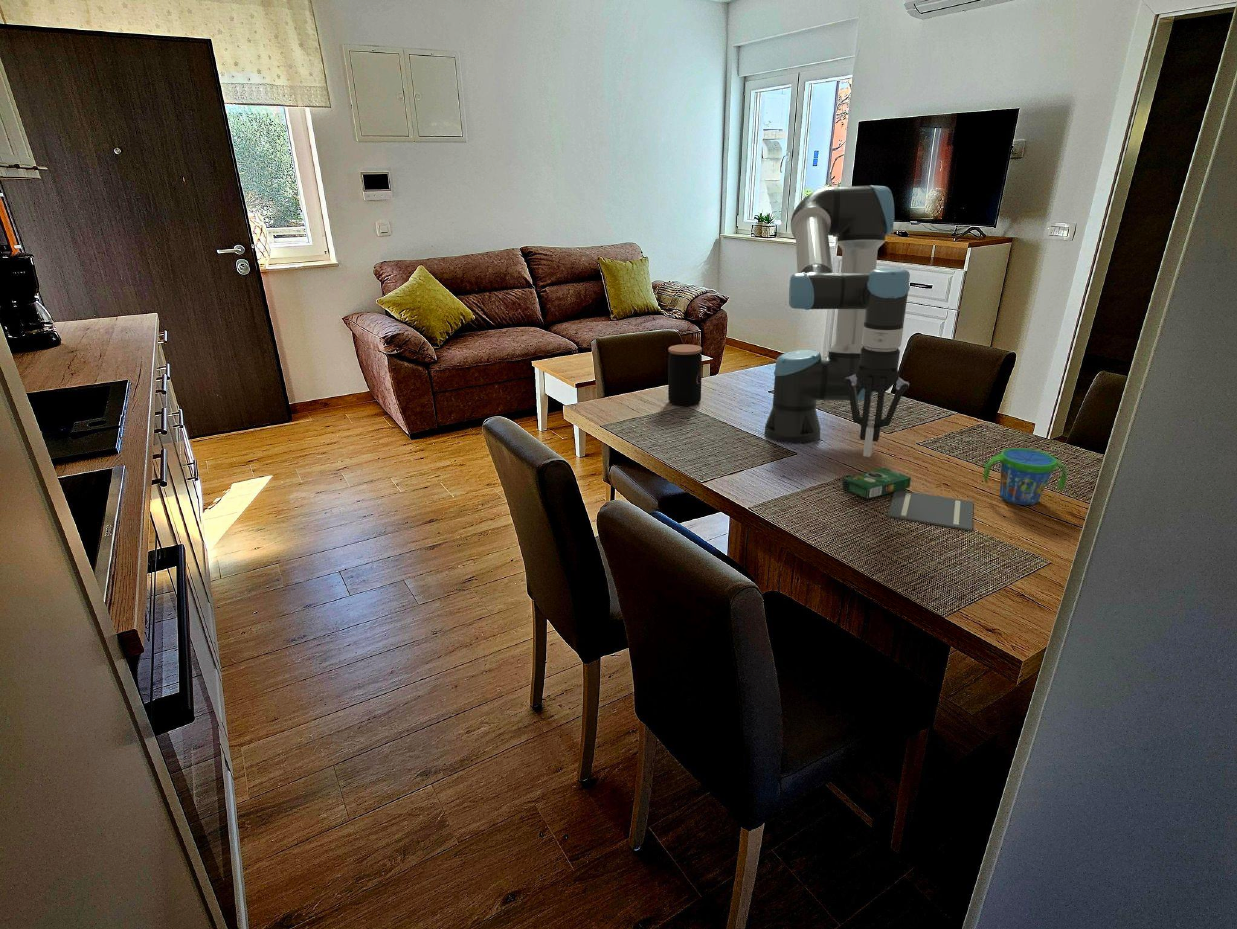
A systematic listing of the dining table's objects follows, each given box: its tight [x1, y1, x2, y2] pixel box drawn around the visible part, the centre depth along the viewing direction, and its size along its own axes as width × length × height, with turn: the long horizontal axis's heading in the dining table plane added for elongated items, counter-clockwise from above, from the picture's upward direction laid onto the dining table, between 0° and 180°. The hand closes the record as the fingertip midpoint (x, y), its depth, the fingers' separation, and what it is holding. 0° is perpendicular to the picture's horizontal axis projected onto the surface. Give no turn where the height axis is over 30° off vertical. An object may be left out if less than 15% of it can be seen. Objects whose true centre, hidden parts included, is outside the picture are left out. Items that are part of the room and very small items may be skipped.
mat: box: [887, 489, 974, 532], centre depth 144 cm, size 16×14×1 cm
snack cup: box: [983, 447, 1068, 506], centre depth 146 cm, size 16×10×10 cm
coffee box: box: [842, 467, 912, 499], centre depth 154 cm, size 8×3×13 cm
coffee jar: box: [667, 343, 703, 408], centre depth 216 cm, size 11×11×18 cm
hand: (867, 454), depth 146 cm, fingers closed
